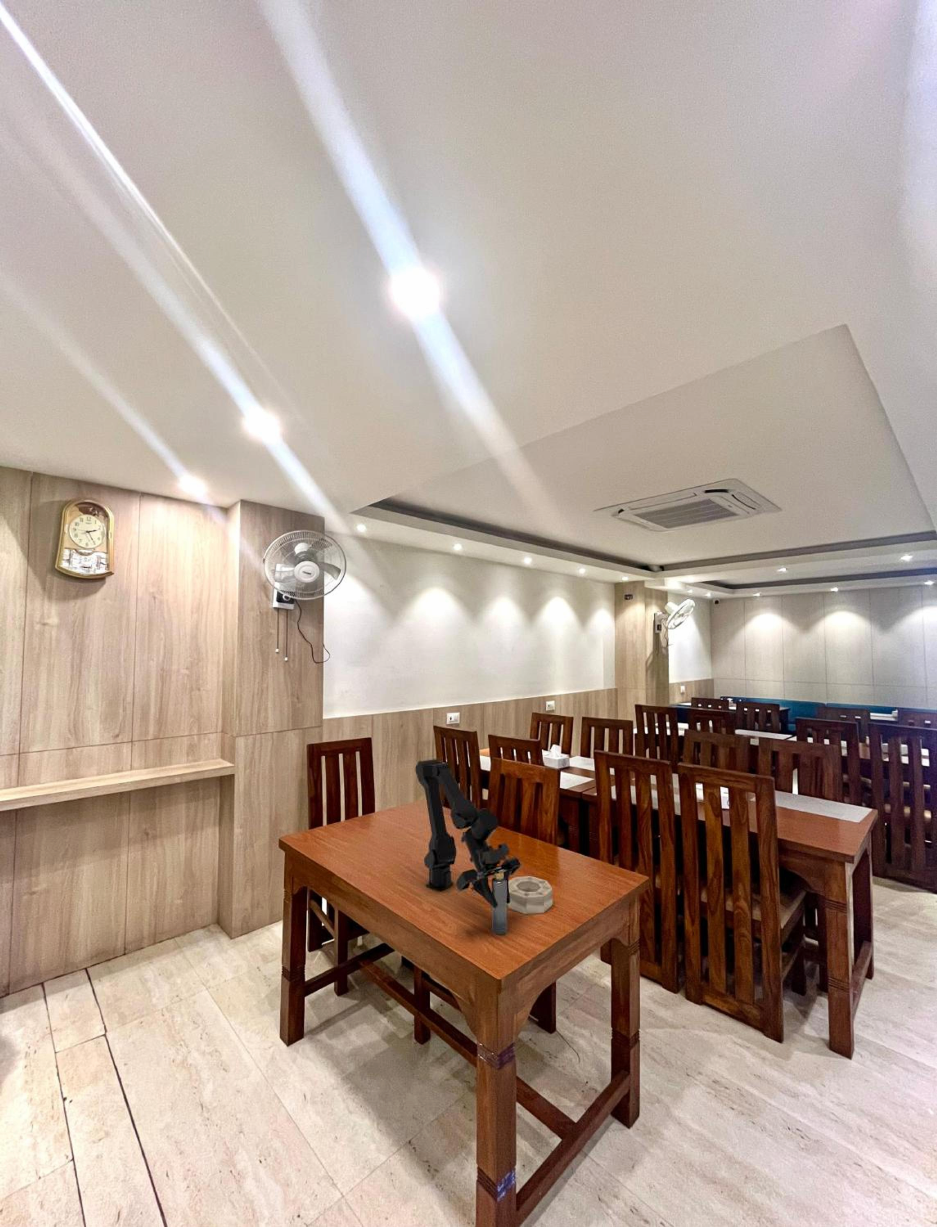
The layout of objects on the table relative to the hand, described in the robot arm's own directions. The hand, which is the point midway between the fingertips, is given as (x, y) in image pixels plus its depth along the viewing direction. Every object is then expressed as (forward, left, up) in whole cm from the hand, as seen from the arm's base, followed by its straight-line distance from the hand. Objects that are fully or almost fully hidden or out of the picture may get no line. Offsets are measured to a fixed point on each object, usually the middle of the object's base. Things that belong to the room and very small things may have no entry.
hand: (502, 905), depth 133 cm
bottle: (-1, +1, -7) cm, 7 cm away
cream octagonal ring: (-2, +19, -7) cm, 20 cm away
